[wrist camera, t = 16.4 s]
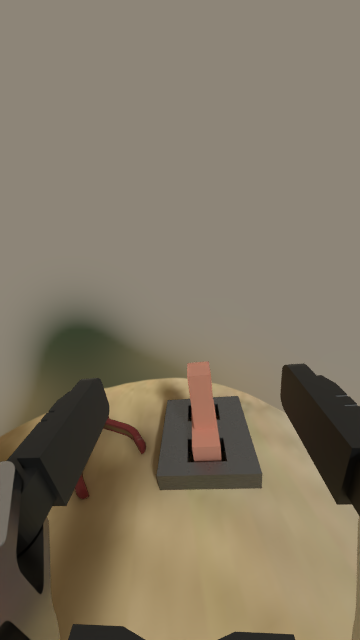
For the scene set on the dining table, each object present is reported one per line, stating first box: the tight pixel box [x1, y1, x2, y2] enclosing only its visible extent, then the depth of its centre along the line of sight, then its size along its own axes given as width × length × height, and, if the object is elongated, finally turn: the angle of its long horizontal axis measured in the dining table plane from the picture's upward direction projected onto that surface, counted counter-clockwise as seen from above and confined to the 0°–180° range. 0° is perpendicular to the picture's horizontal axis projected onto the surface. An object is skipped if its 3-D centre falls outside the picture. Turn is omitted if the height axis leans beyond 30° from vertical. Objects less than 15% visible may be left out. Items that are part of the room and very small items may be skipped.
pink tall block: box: [187, 362, 222, 462], centre depth 31 cm, size 4×9×15 cm, turn 177°
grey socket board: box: [157, 396, 262, 490], centre depth 33 cm, size 14×14×3 cm
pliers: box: [75, 416, 146, 499], centre depth 38 cm, size 12×20×3 cm, turn 39°
